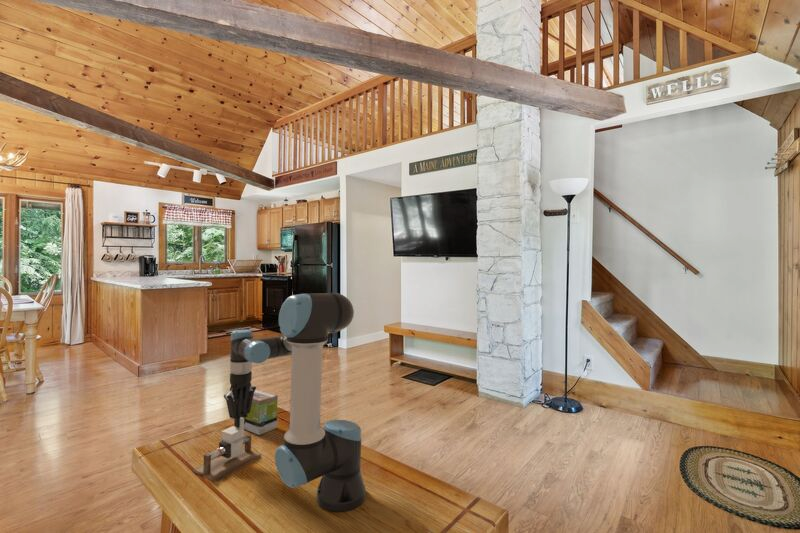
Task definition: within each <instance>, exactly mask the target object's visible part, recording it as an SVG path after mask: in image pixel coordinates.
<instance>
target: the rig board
mask: <svg viewBox="0 0 800 533" xmlns="http://www.w3.org/2000/svg"><path fill="white" fill-rule="evenodd" d="M244 436H248V438H249V441H248V442H247V443H245V444H244V447H243V453H241V454H239V455H237V456H235V457H233V458H225V457H223V456H220V457H218V458H215V459H213V460H211V455H210V454H209V453H205V454H203V464H201V465H199V466H197V467H195V468H193V469H192V470H193V472H192V473H193V474H196V473H197V474H196V475H199V476H201V475H202V476H201V477H204V476H205V477H204V478H206V477H207V479H209V478H210V479H209V480H211V479H212V480H211V481H214V482H219V481H220V480H222V479H224V478H226V477H228V476H230V475H232V474H233V473H235V472H237V471H238V470H241V468H243V467H246V466H247V465H249V464H251V463H252V462H254V461H256V460H257V459H260V458H261V456H262V454H261V453H259V452H256V451H253V450H252V434H249V433H246V434H244Z"/></svg>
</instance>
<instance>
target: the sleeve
mask: <svg viewBox="0 0 800 533" xmlns="http://www.w3.org/2000/svg"><path fill="white" fill-rule="evenodd" d="M243 437H244V435H243V429H241V428H236V427H235V426H230V427H228V428H226V429H223V430H221V437H220V438H221V440H220V442H221V441H223V442H226V443H229V444H231V457H229V458H233V457H235V456H237V455H239V454H241V453H243V448H244V444H243ZM226 454H227V453H226Z"/></svg>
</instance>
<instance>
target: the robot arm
mask: <svg viewBox="0 0 800 533" xmlns="http://www.w3.org/2000/svg"><path fill="white" fill-rule="evenodd" d="M281 304H282V305H281V306H280V307H281V308H280V309H279V313H278V326H279V327H280V328H279V331H280V333H281V334H282V335H279V336H272V337H265V338H263V337H262V338H254V335H253V331H252V330H251V329H236V330H232V331H231V334H230V350H229V352H230V355H229V357H230V360H229V366H230V367H229V371H230V373H229V384H230V388H229V391H228V392H227V394H223V397H224V399H225V402H226V406H227V412H228V416H229V418H230V419H233V421H234V427H236V428H241V429H243V436H245V429H244V425H245V417H247V416H248V415H246V414H248V413H250V410H251V405H252V400H253V395H254V392H255V390H256V389H257V387H256V386H254V385H252V378H253V377H252V376H253V374H252V371H253V363H254V364H261V363H264V362H266V361H268V360H270V359H275V358H281V357H288V356H291V368H290V369H291V371H290V372H291V374H290V378H291V379H290V402H289V403H290V406H289V407H290V408H289V412H290V413H289V429H288V430H287V431H286V432H285V433H284V435H283V444H282V445H281V444H280V445H279V446H278V447H277V448H276V449H275V452H274V461H275V467H276V470H277V473H278V474H279V477H280V479H281V481H282V482H283V483H284V485H286V486H287V487H289V488H292V489H295V488H297V487H300V486H303V485H304V486H305V485H307V484H308V483H310V482H312V481H315V480H316V479H319V478H320V481H319V484H318V487H317V489H316V502H317V504H318V505H319V506H320V507H321V508H322V509H324V510H326V511H329V512H334V513H338V512H340V513H341V512H347V511H352V510H353V509H356V508H357V507H359V506H360V505H362V504H363V502H364V501H365V498H366V486H365V484H364V479H363V476H362V473H361V462H362V460H361V456H362V455H361V453H362V440H363V439H362V430H361V427H360V425H359V424H358V423H356V422H354V421H351V420H346V419H333V420H329V421H326V422H325V424H324V425H323V427H321V417H322V416H321V410H322V408H321V407H322V378H323V376H322V375H323V374H322V373H323V372H322V370H323V348H324V347H323V346H324V345H325V344H327V342H328V340H329V334H336V333H338V332H341V331H342V330H344V329H346V328H347V327H348V326H350V325H351V323H352V321H353V318H354V313H355V311H354V307H353V304H352V302H351V301H350V299H349V298H348V297H346V295H343V294H341V293H338V292H327V293H326V292H325V293H324V292H323V293H321V292H319V293H299V294H293V295H290V296H288V297H287V298H286V299H285V300H284V302H283V303H281Z"/></svg>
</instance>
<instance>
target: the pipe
mask: <svg viewBox="0 0 800 533" xmlns="http://www.w3.org/2000/svg"><path fill="white" fill-rule="evenodd" d="M248 441H249V438H248V436H245V435H243V445H245V443H247V442H248ZM225 453H227V447H226V446H223V447H221V448H219V447H218V448H215V449H214V450H213V451H211V452H209V453H208V454H210V455H211V460H213V459H215V458H218V457H220V456H221V455H223V454H225Z"/></svg>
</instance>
